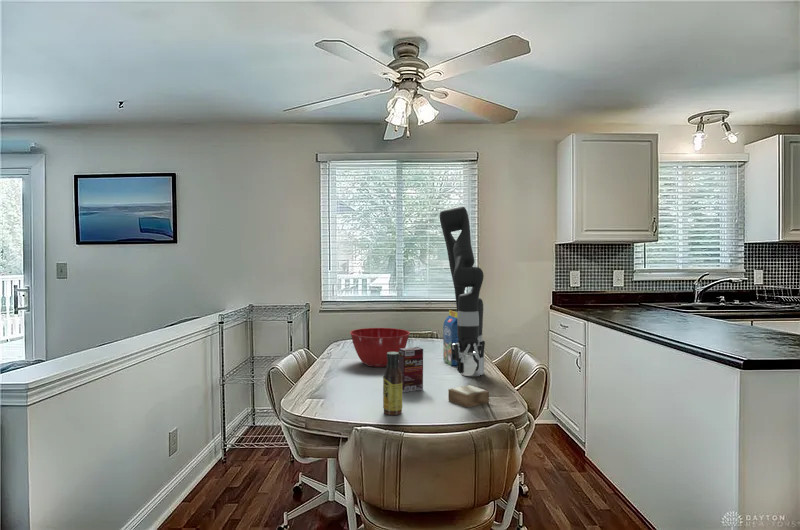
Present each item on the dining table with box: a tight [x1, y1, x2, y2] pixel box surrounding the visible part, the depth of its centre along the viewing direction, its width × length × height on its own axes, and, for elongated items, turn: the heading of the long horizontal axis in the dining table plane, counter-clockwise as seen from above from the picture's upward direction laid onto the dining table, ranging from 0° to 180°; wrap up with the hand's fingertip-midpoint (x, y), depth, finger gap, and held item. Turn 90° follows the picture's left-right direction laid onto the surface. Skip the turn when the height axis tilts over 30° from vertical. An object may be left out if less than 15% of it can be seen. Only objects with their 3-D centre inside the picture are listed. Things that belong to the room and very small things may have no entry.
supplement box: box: [399, 346, 424, 393], centre depth 189 cm, size 9×5×16 cm, turn 117°
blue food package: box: [442, 309, 461, 367], centre depth 237 cm, size 6×12×25 cm, turn 13°
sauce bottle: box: [382, 352, 403, 416], centre depth 161 cm, size 7×6×20 cm
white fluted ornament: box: [463, 355, 477, 377], centre depth 173 cm, size 6×6×7 cm
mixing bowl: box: [349, 327, 411, 368], centre depth 235 cm, size 28×28×16 cm
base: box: [448, 384, 490, 408], centre depth 174 cm, size 10×10×4 cm
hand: (468, 371), depth 173 cm, fingers closed on white fluted ornament, 6 cm apart
